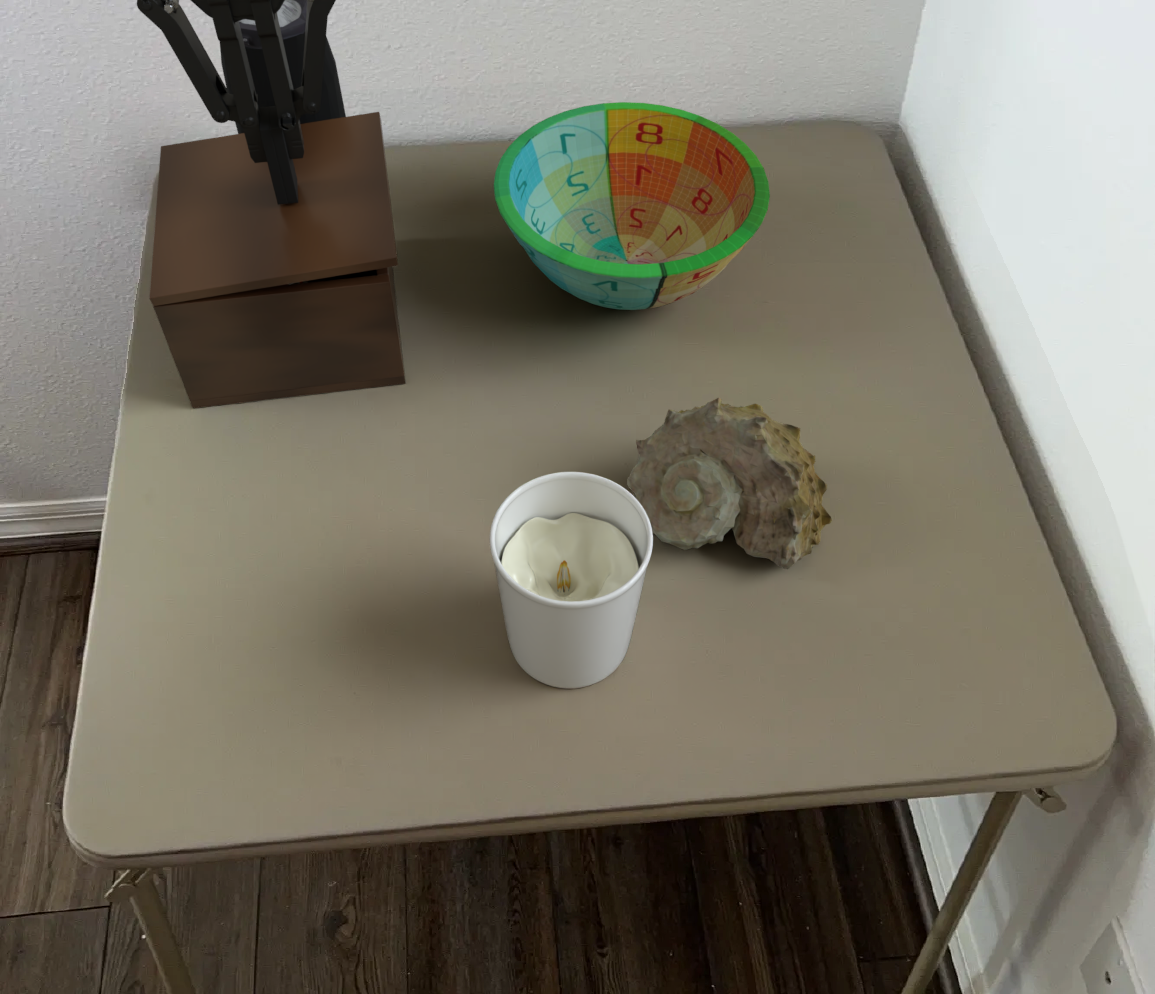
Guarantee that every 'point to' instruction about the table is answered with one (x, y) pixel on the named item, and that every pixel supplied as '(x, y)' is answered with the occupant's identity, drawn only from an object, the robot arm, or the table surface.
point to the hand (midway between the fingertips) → (287, 192)
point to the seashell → (731, 482)
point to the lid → (271, 213)
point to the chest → (287, 339)
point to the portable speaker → (290, 63)
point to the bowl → (631, 201)
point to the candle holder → (570, 575)
